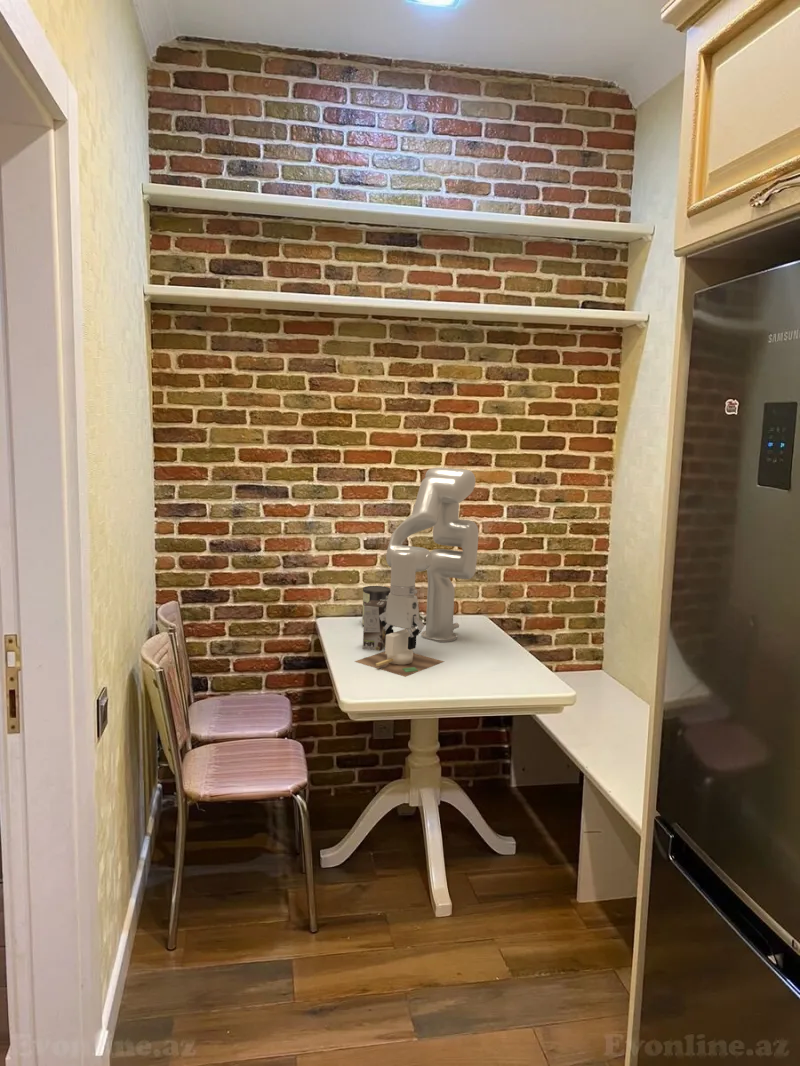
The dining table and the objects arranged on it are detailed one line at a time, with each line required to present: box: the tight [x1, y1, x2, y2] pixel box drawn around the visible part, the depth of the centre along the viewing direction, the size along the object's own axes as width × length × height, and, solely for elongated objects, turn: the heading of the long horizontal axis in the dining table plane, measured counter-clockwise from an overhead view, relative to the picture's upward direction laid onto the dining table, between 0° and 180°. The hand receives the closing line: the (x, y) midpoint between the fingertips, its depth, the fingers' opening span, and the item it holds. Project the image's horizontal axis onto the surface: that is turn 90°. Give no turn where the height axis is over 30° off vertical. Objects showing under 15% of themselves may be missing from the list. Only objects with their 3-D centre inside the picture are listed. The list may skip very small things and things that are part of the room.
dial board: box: [354, 650, 445, 678], centre depth 234 cm, size 20×20×2 cm
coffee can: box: [361, 585, 390, 625], centre depth 279 cm, size 10×10×14 cm
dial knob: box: [376, 628, 416, 666], centre depth 231 cm, size 16×8×9 cm, turn 142°
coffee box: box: [362, 600, 387, 652], centre depth 248 cm, size 9×6×16 cm
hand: (400, 645), depth 233 cm, fingers open, 8 cm apart
